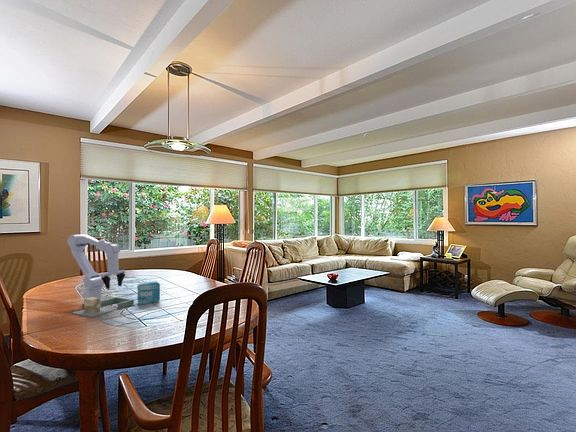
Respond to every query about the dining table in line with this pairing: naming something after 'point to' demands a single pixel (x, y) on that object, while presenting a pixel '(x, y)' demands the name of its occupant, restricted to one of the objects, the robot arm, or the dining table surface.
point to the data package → (148, 292)
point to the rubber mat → (82, 312)
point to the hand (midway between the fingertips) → (113, 287)
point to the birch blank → (92, 304)
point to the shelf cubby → (121, 302)
